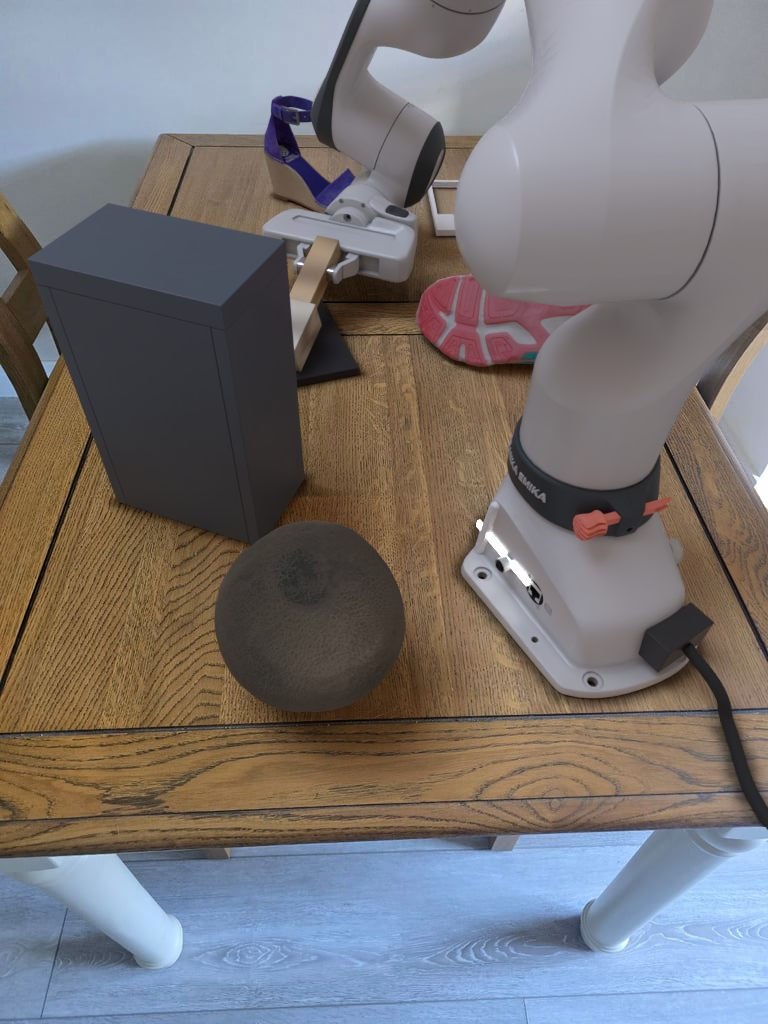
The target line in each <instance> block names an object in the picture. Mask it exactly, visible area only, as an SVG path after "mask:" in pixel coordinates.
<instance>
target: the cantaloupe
mask: <svg viewBox="0 0 768 1024" xmlns="http://www.w3.org/2000/svg"><path fill="white" fill-rule="evenodd" d="M213 617H214V618H213V619H214V620H213V624H214V630H215V631H214V633H215V636H216V641H217V647H218V649H219V652H220V655H221V657H222V660H223V662H224V664H225V666H226V667H227V669H228V671H229V672H230V674H231V676H232V677H233V678H234V679H235V682H237V683H238V684H239V685H240V687H242V688H243V689H245V691H247V692H248V693H249V694H250V695H252V696H253V697H255V698H256V699H257V700H258V701H260V702H262V703H263V704H265V705H266V706H269V707H272V708H273V709H276V710H279V711H284V712H290V713H304V712H311V713H320V712H330V711H335V710H341V709H342V708H345V707H348V706H351V705H353V704H356V703H357V702H359V701H361V700H362V699H364V698H365V697H366V696H367V695H368V694H370V693H371V692H372V691H373V690H374V689H375V688H377V686H378V685H380V684H381V682H382V681H383V680H384V679H385V678H386V676H387V675H388V674H389V673H390V671H391V670H392V669H393V667H394V666H395V664H396V662H397V660H398V659H399V656H400V654H401V651H402V647H403V644H404V641H405V637H406V631H407V630H406V625H407V624H406V613H405V605H404V600H403V596H402V593H401V590H400V586H399V585H398V581H397V580H396V578H395V576H394V574H393V573H392V570H391V568H390V567H389V565H388V564H387V563H386V561H385V560H384V559H383V557H382V556H381V554H380V553H379V552H378V551H377V550H376V548H375V547H374V546H373V545H372V544H370V543H369V541H367V540H366V538H364V537H363V536H362V535H361V534H360V533H358V532H357V531H355V530H353V528H352V529H351V528H350V527H348V526H347V525H344V524H340V523H338V522H332V521H327V520H302V521H301V520H299V521H294V522H290V523H286V524H283V525H281V526H279V527H276V528H273V529H272V531H271V532H270V533H269V534H267V535H266V536H264V537H262V538H261V539H259V540H258V541H257V542H256V543H255V544H253V545H250V546H249V547H247V548H245V549H243V550H242V551H241V552H240V553H239V554H238V555H237V557H236V558H235V560H234V561H233V563H232V564H231V566H230V568H229V569H228V570H227V572H226V574H225V576H224V577H223V579H222V581H221V583H220V585H219V587H218V593H217V597H216V601H215V607H214V616H213Z"/></svg>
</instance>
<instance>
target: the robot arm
mask: <svg viewBox="0 0 768 1024" xmlns="http://www.w3.org/2000/svg"><path fill="white" fill-rule="evenodd" d="M506 2H507V0H356V2H355V4H354V6H353V8H352V11H351V13H350V14H349V16H348V17H349V18H348V20H347V22H346V25H345V27H344V29H343V32H342V35H341V37H340V40H339V42H338V45H337V48H336V49H335V52H334V55H333V56H332V57H333V58H332V59H331V63H330V65H329V66H328V67H329V68H328V70H327V72H326V74H325V77H324V78H323V80H322V81H321V83H320V85H319V87H318V88H317V90H316V93H315V95H314V98H313V100H312V101H313V104H312V109H311V112H310V116H311V121H312V122H311V124H312V128H313V130H314V134H315V136H316V139H317V140H318V142H319V143H321V144H323V145H325V146H327V147H328V148H331V149H333V150H334V151H336V152H338V153H342V154H343V155H345V156H347V157H348V158H350V159H351V160H353V161H355V162H356V163H358V164H359V165H361V166H362V167H364V169H363V170H362V171H360V172H359V174H357V175H356V176H355V177H356V178H355V179H354V180H353V181H352V183H351V185H350V186H348V187H347V188H345V189H344V190H343V191H342V192H341V193H340V194H339V195H338V196H337V197H336V198H335V200H334V201H333V202H332V203H331V204H330V205H329V206H328V207H327V209H326V211H325V213H324V214H322V213H317V212H315V211H313V210H306V209H302V208H288V209H285V210H283V211H281V212H279V213H278V214H277V215H275V216H273V217H272V218H270V219H269V220H268V221H266V222H265V223H264V224H263V226H262V228H261V236H266V237H271V238H276V239H280V240H285V242H286V254H287V260H288V259H289V260H293V265H292V267H293V274H294V275H296V276H298V275H299V273H300V270H301V268H302V266H303V264H304V262H305V260H306V258H307V256H308V254H309V251H310V249H311V247H312V245H313V243H314V241H315V239H316V237H317V235H318V236H322V237H327V238H332V239H337V240H339V243H340V251H341V252H342V254H341V256H340V258H339V261H338V263H337V264H333V263H331V264H330V265H329V267H328V268H327V270H326V276H327V277H326V281H327V282H329V283H332V284H335V285H338V284H339V283H340V282H341V281H342V280H343V279H347V278H350V277H353V276H356V275H360V276H364V277H369V278H374V279H377V280H382V281H386V282H390V283H394V284H398V283H403V282H406V281H407V280H408V279H409V277H410V275H411V274H412V271H413V269H414V261H415V258H416V253H417V247H418V235H419V234H418V231H419V229H418V228H419V227H418V216H417V214H416V213H414V212H412V211H410V210H411V208H412V207H413V206H415V205H417V204H418V203H421V201H422V200H423V198H424V197H425V195H426V194H428V190H429V188H430V187H431V185H432V184H433V182H434V180H436V178H437V176H438V175H439V173H440V170H441V168H442V167H443V163H444V160H445V157H446V153H447V146H446V138H445V137H446V136H445V133H444V128H443V126H442V124H441V121H439V120H438V119H437V118H435V117H433V116H432V115H431V114H429V113H427V112H426V111H425V110H424V109H422V108H420V107H418V106H417V105H416V104H414V103H412V102H410V101H409V100H407V99H405V98H404V97H402V96H400V95H399V94H398V93H396V92H394V91H393V90H391V89H390V88H388V87H386V86H385V85H384V84H382V83H380V82H379V81H378V80H377V79H376V78H375V77H374V76H373V75H372V74H371V73H370V71H369V70H368V68H369V67H370V64H371V63H372V60H373V58H374V56H375V54H376V52H377V49H378V48H379V47H383V48H384V47H385V48H393V49H397V50H401V51H405V52H408V53H411V54H414V55H416V56H420V57H422V58H427V59H436V60H437V59H438V60H442V59H443V60H444V59H451V58H454V57H458V56H462V55H464V54H466V53H468V52H470V51H472V50H474V49H475V48H476V47H478V46H480V44H481V43H482V42H484V40H485V39H487V37H488V35H489V34H490V32H491V31H492V29H493V27H494V26H495V24H496V22H497V20H498V19H499V17H500V15H501V13H502V11H503V9H504V7H505V5H506ZM523 2H524V7H525V13H526V18H527V25H528V34H529V43H530V52H531V69H530V74H529V79H528V81H527V85H526V87H525V89H524V91H523V94H522V95H521V97H520V99H519V100H518V101H517V103H516V104H515V105H514V106H513V108H512V109H511V110H510V111H509V112H508V113H507V114H506V115H505V116H504V117H502V119H500V120H499V121H498V122H496V123H495V124H493V125H492V126H491V127H490V128H489V129H488V130H486V132H485V133H484V135H482V137H481V138H480V139H479V140H478V141H477V143H476V145H475V146H474V148H473V149H472V151H471V152H470V154H469V156H468V158H467V160H466V162H465V164H464V166H463V169H462V171H461V173H460V176H459V179H458V180H459V182H458V186H457V187H456V191H455V195H454V202H453V203H454V204H453V214H454V227H455V234H456V236H455V239H456V243H457V246H458V251H459V253H460V256H461V258H462V260H463V262H464V265H465V267H466V268H467V270H468V271H469V273H470V275H472V276H473V278H474V279H475V280H476V281H477V283H478V284H479V285H480V286H481V287H482V288H483V289H484V290H485V291H486V292H487V293H488V294H489V295H491V296H493V297H497V298H503V299H510V300H516V301H522V302H529V303H538V304H546V305H555V306H576V305H588V304H593V305H591V306H590V307H588V308H586V309H585V310H583V311H581V312H580V313H578V314H576V315H575V316H573V317H571V318H570V319H568V320H567V321H565V322H564V323H563V324H561V325H560V326H559V327H558V328H556V329H555V330H554V331H553V332H552V333H551V335H550V336H549V337H548V338H547V339H546V341H545V342H544V344H543V345H542V347H541V349H540V351H539V353H538V355H537V357H536V360H535V364H533V369H532V373H531V378H530V382H529V387H528V391H527V395H526V400H525V404H524V408H523V414H522V415H521V416H520V417H519V419H518V420H517V421H516V425H515V427H514V431H513V433H512V434H511V437H510V441H509V443H508V444H509V445H508V454H507V460H506V466H507V471H506V473H505V475H504V477H503V479H502V481H501V483H500V485H499V487H498V489H497V490H496V492H495V494H494V496H493V498H492V499H491V501H490V503H489V506H488V509H487V510H486V514H485V517H484V519H483V521H482V520H481V519H478V520H477V521H476V528H477V529H478V535H477V539H476V543H475V545H474V546H473V548H472V549H471V550H470V551H469V552H468V554H467V555H466V556H465V558H464V559H463V562H462V564H461V567H460V574H461V576H462V578H463V579H464V581H465V582H467V584H468V585H469V586H470V588H471V589H472V590H473V591H474V593H475V594H476V595H477V596H478V598H479V599H480V600H481V601H482V603H483V604H484V605H485V606H486V607H487V608H488V610H489V611H490V612H491V613H492V614H493V616H494V617H495V618H496V620H498V622H499V623H500V625H501V626H502V627H503V628H504V629H505V630H506V632H507V633H508V634H509V635H510V636H511V638H512V639H513V640H514V641H515V643H516V644H517V645H518V646H519V647H520V649H521V650H522V651H523V652H524V653H525V655H526V656H527V657H528V658H529V660H530V661H531V662H532V663H533V664H534V666H535V667H536V668H537V669H538V671H539V672H540V673H541V674H542V676H543V677H544V678H545V679H546V680H547V682H548V683H549V684H550V685H551V687H552V688H554V689H555V690H556V692H558V693H560V694H562V695H565V696H570V697H574V698H580V699H581V698H583V699H603V698H604V699H605V698H611V697H612V698H613V697H617V696H623V695H627V694H631V693H634V692H637V691H640V690H643V689H646V688H649V687H651V686H653V685H656V684H659V683H661V682H662V681H663V682H664V681H665V680H666V679H669V678H670V677H672V676H674V675H675V674H677V673H678V672H680V671H681V670H682V669H683V668H684V667H685V666H687V664H688V663H689V662H690V663H691V664H692V665H693V667H694V668H695V669H696V670H697V672H698V673H699V674H700V676H701V677H702V679H703V681H705V683H706V684H707V686H708V688H709V689H710V691H711V692H712V695H713V696H714V698H715V702H716V705H717V713H718V718H719V721H720V724H721V727H722V730H723V733H724V736H725V739H726V743H727V747H728V749H729V752H730V757H731V760H732V763H733V767H734V770H735V774H736V777H737V780H738V782H739V785H740V787H741V789H742V793H743V794H744V796H745V798H746V800H747V802H748V804H749V806H750V807H751V809H752V810H753V812H754V814H755V816H757V818H758V820H759V821H760V823H762V825H763V826H764V827H765V829H766V830H767V831H768V805H767V804H766V802H765V801H764V799H763V797H762V795H761V793H760V792H759V789H758V787H757V785H756V784H755V781H754V778H753V775H752V773H751V770H750V767H749V764H748V762H747V758H746V754H745V751H744V748H743V747H744V746H743V745H742V744H743V743H742V741H741V737H740V735H739V731H738V729H737V726H736V723H735V720H734V716H733V711H732V703H731V699H730V697H729V695H728V692H727V689H726V688H725V686H724V684H723V683H722V681H721V680H720V678H719V677H718V675H717V673H716V672H715V671H714V670H713V668H712V667H711V665H709V663H708V662H707V660H706V659H705V658H704V656H702V654H701V653H700V652H699V650H698V649H697V648H698V646H699V645H700V644H701V643H702V642H703V640H704V639H705V638H706V636H707V634H708V633H709V631H710V630H711V628H712V627H713V625H714V624H715V622H714V621H713V620H712V619H711V618H710V617H709V616H708V615H706V613H704V612H703V610H701V609H700V608H699V607H698V606H696V605H695V604H694V603H693V602H689V603H687V604H686V605H685V602H686V601H685V600H686V588H685V584H684V581H683V578H682V576H681V572H680V570H679V567H678V564H680V563H681V562H682V561H683V559H684V549H683V545H682V544H681V541H680V540H679V539H677V538H675V537H671V538H669V537H668V534H667V532H666V529H665V526H664V523H663V520H662V518H661V515H660V513H659V512H662V511H664V510H665V509H668V508H669V504H668V503H669V502H671V501H672V500H673V497H672V496H667V497H663V498H659V495H660V484H661V483H660V482H661V470H662V466H661V464H662V461H661V460H662V455H661V453H662V450H663V448H664V446H665V443H666V441H667V439H668V437H669V435H670V433H671V431H672V429H673V428H674V427H673V426H674V424H675V422H676V420H677V419H678V416H679V414H680V413H681V410H682V408H683V407H684V405H685V403H686V401H687V399H688V398H689V396H690V394H691V393H692V391H693V389H695V386H696V385H697V384H698V382H699V381H700V380H701V379H702V377H703V376H704V375H705V374H706V372H707V371H708V370H709V369H710V368H711V367H712V365H713V364H714V363H716V361H717V360H718V359H719V358H720V357H721V356H722V355H723V354H724V352H726V351H727V350H728V349H729V347H730V346H731V345H732V344H733V343H735V341H737V339H739V338H740V336H742V335H743V333H744V332H746V331H747V329H749V328H750V327H751V326H752V325H753V324H755V322H757V320H758V319H760V318H762V316H763V315H764V314H765V313H767V312H768V97H767V98H766V97H763V98H762V97H761V98H739V99H738V98H737V99H714V100H713V99H711V100H689V101H686V100H682V99H674V98H671V97H669V96H668V95H667V94H666V93H665V92H664V91H663V90H662V88H661V86H663V84H664V83H666V82H667V81H669V79H670V78H671V77H672V76H674V75H675V74H676V73H677V72H678V71H679V70H680V69H681V68H682V67H683V66H684V64H685V63H686V62H687V61H688V60H689V59H690V57H691V56H692V55H693V53H694V52H695V50H696V49H697V47H698V46H699V44H700V42H701V40H702V39H703V37H704V35H705V32H706V30H707V28H708V24H709V23H710V19H711V15H712V11H713V7H714V2H715V0H523ZM481 577H482V578H483V579H482V578H481ZM589 682H592V683H593V684H594V686H593V685H590V684H589Z"/></svg>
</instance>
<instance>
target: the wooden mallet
mask: <svg viewBox="0 0 768 1024" xmlns="http://www.w3.org/2000/svg"><path fill="white" fill-rule="evenodd" d="M341 254H342V252H341V251H340V243H339V240H337V239H332V238H327V237H322V236H318V235H317V237H316V239H315V241H314V243H313V245H312V247H311V249H310V251H309V254H308V256H307V258H306V260H305V262H304V264H303V266H302V268H301V270H300V273H299V275H297V277H296V279H295V281H294V283H293V285H292V287H291V289H290V291H289V292H290V304H291V317H292V329H293V341H294V354H295V366H296V371H299V372H301V370H302V368H303V366H304V364H305V361H306V359H307V357H308V355H309V352H310V350H311V348H312V346H313V343H314V341H315V339H316V337H317V334H318V332H319V330H320V328H321V326H322V324H321V321H320V318H319V314H318V311H317V307H318V305H319V303H320V300H321V299H322V298H323V296H324V295H325V292H326V289H327V287H328V286H329V285H328V284H329V283H330V282H327V281H326V277H327V276H326V270H327V268H328V267H329V265H330V264H331V263H333V264H337V263H338V261H339V258H340V256H341Z"/></svg>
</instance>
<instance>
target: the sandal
mask: <svg viewBox="0 0 768 1024" xmlns="http://www.w3.org/2000/svg"><path fill="white" fill-rule="evenodd" d="M312 104H313V100H311V99H309V98H304V97H301V96H296V95H280V94H279V95H277V96H274V98H272V100H271V103H270V116H269V120H268V122H267V123H268V124H267V127H266V129H265V132H264V138H263V145H264V146H263V154H264V158H265V161H266V166H267V170H268V174H269V178H270V183H271V187H272V191H273V196H274V197H275V198H276V199H279V200H282V201H285V202H288V201H291V202H294V203H297V204H299V205H301V206H303V207H305V208H306V209H307V208H308V209H310V211H312V212H317V213H322V214H324V213H325V211H326V209H327V207H328V206H329V205H330V204H331V203H332V202H333V201H334V200H335V198H336V197H337V196H338V195H339V194H340V193H341V192H342V191H343V190H344V189H345V188H347V187H348V186H350V185H351V183H352V181H353V180H354V179H355V178H356V177H357V176H355V175H354V174H353V172H352V170H350V168H349V167H347V168H346V169H345V170H344V171H343V172H342V173H340V175H338V176H337V177H336V178H335V179H334V180H333V181H332V182H331V181H330V180H328V179H327V178H326V177H325V176H323V175H322V174H321V173H320V171H318V170H317V169H316V168H315V167H314V166H313V165H312V164H311V163H310V162H309V161H308V160H307V159H306V158H305V157H304V156H303V155H302V152H301V149H300V147H299V144H298V141H297V138H296V136H295V134H294V132H293V130H292V127H291V125H292V126H300V125H301V123H302V124H303V123H305V124H307V123H312V121H311V116H310V112H311V109H312Z"/></svg>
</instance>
